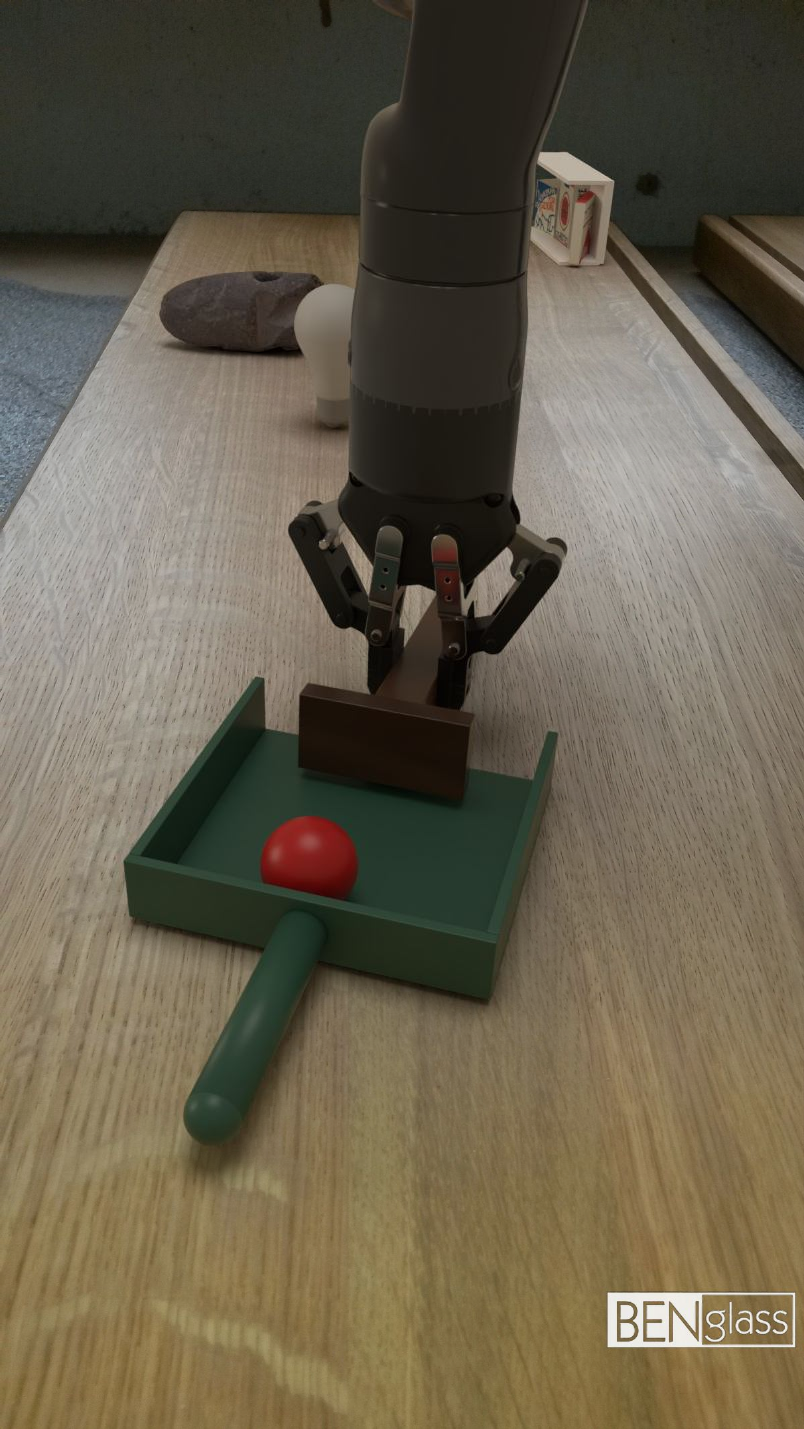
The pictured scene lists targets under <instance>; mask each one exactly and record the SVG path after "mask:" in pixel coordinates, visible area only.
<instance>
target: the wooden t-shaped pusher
mask: <svg viewBox="0 0 804 1429" xmlns="http://www.w3.org/2000/svg"><path fill="white" fill-rule="evenodd" d="M476 608H477V609H478V600H477V599H476ZM422 615H423V616H421V619H420V620H419V622H418V623H417V625H416V627H415V629H414V630H413V632H411V635H410V636H409V639H408V640H407V641H406V643H405V644H404V649H403V651H402V653H401V654H400V656H399V657H398V659H397V661H396V662H395V664H394V666H393V667H392V668H391V670H390V671H389V673H388V675H387V676H386V678H385V680H384V681H383V683H382V685H381V686H380V688H379V690H378V691H377V693H376V695H372V694H370V693H367V692H361V691H355V690H349V689H344V688H338V687H334V686H328V685H323V684H317V683H313V682H306V684H305V686H304V687H303V688H302V690H301V691H300V693H299V694H298V697H299V698H298V735H299V737H298V767H299V768H304V769H309V770H314V771H319V772H324V773H329V774H334V775H339V776H344V777H349V778H353V779H358V780H363V781H368V782H373V783H378V784H383V785H388V786H393V787H398V788H403V789H408V790H413V791H418V792H423V793H428V794H433V795H438V796H443V797H448V798H453V799H458V800H463V798H464V796H465V793H466V791H467V788H468V783H469V773H470V768H471V762H472V753H473V744H474V734H475V724H476V713H474V712H468V711H463V710H460V711H458V710H452V709H447V708H442V707H436V700H437V686H438V676H437V670H438V657H439V655H440V653H441V651H442V636H441V621H440V618H439V617H438V615H437V603H436V594H435V595H434V597H433V598H432V600H431V602H430V604H429V605H428V607H427V609H426V610H425V612H424V614H422Z"/></svg>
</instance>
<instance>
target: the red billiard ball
mask: <svg viewBox="0 0 804 1429" xmlns="http://www.w3.org/2000/svg"><path fill="white" fill-rule="evenodd" d="M260 873H261V878H262V882H263V883H264V884H269V885H273V886H278V887H283V888H287V889H292V890H296V891H301V892H305V893H310V894H314V895H319V896H323V897H328V898H333V899H337V900H342V901H344V900H345V899H346V897H347V896H348V895H349V894H350V892H351V890H352V889H353V887H354V885H355V882H356V879H357V875H358V856H357V852H356V848H355V846H354V844H353V842H352V840H351V838H350V837H349V835H348V834H347V833H346V832H345V831H344V830H343V829H342V828H341V827H340V826H339V825H337V824H335V823H334V822H332V821H330V820H327V819H325V818H321V817H316V816H303V817H298V818H294V819H292V820H289V821H287V822H285V823H284V824H282V825H281V826H279V827H278V828H277V829H276V830H275V831H274V832H273V833H272V834H271V835H270V837H269V838H268V840H267V841H266V843H265V845H264V848H263V850H262V854H261V859H260Z"/></svg>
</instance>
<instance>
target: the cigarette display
mask: <svg viewBox="0 0 804 1429" xmlns="http://www.w3.org/2000/svg"><path fill="white" fill-rule="evenodd" d="M537 166H539V167H542V168H543V169H544V170H546V171H547V172H549V173H550V174H551V175H553V176H554V177H556V178H541V179H536V190H535V203H534V216H533V217H534V221H533V225H532V227H531V238H530V242H532V244H534V245H535V246H536V247H537V248H538V249H540V251H542V252H543V253H544V254H545V255H547V257H549V258H550V259H551V260H552V261H553V262H554V263H555V264H557V265H558V266H559V267H561V266H562V267H563V266H565V267H566V266H567V267H568V266H573V267H575V266H577V267H578V266H583V267H584V266H600V265H604V264H605V258H606V251H607V250H606V249H607V242H608V235H609V226H610V219H611V218H610V217H611V210H612V203H613V197H614V196H613V195H614V189H615V188H614V187H615V180H613V179H611V178H610V177H609V176H606V175H605V174H603V173H602V172H600V171H599V170H596V169H595V168H593V167H592V166H590V165H589V164H587V163H585V162H584V161H582V160H581V159H579V158H578V157H575V156H574V155H572V154H570V153H569V152H568V151H559V152H555V151H554V152H553V151H551V152H549V151H541V152H540V154H539V158H538V162H537Z"/></svg>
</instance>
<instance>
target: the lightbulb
mask: <svg viewBox="0 0 804 1429" xmlns="http://www.w3.org/2000/svg"><path fill="white" fill-rule="evenodd" d="M354 294H355V289H354V288H351V287H350V286H348V285H344V284H339V283H329V284H324V285H323V286H320V287H318V288H316V289H314V290H313V291H311V292H310V293H308V294H307V295H306V296H305V298H304V299H303V300H302V301H301V303H300V305H299V306H298V309H297V312H296V315H295V320H294V331H295V335H296V339H297V342H298V344H299V346H300V351H301V353H302V354H303V356H304V358H305V359H306V361H307V364H308V366H309V369H310V372H311V378H312V386H313V393H314V395H315V396H316V408H317V409H316V412H317V419H318V420H319V421H320V422H322V423H324V424H325V425H326V426H327V427H329V428H339V427H340V426H341V425H342V424H344V423H346V422H348V421H349V407H350V401H349V400H350V367H349V365H348V344H349V341H350V338H351V316H352V307H353V299H354Z"/></svg>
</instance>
